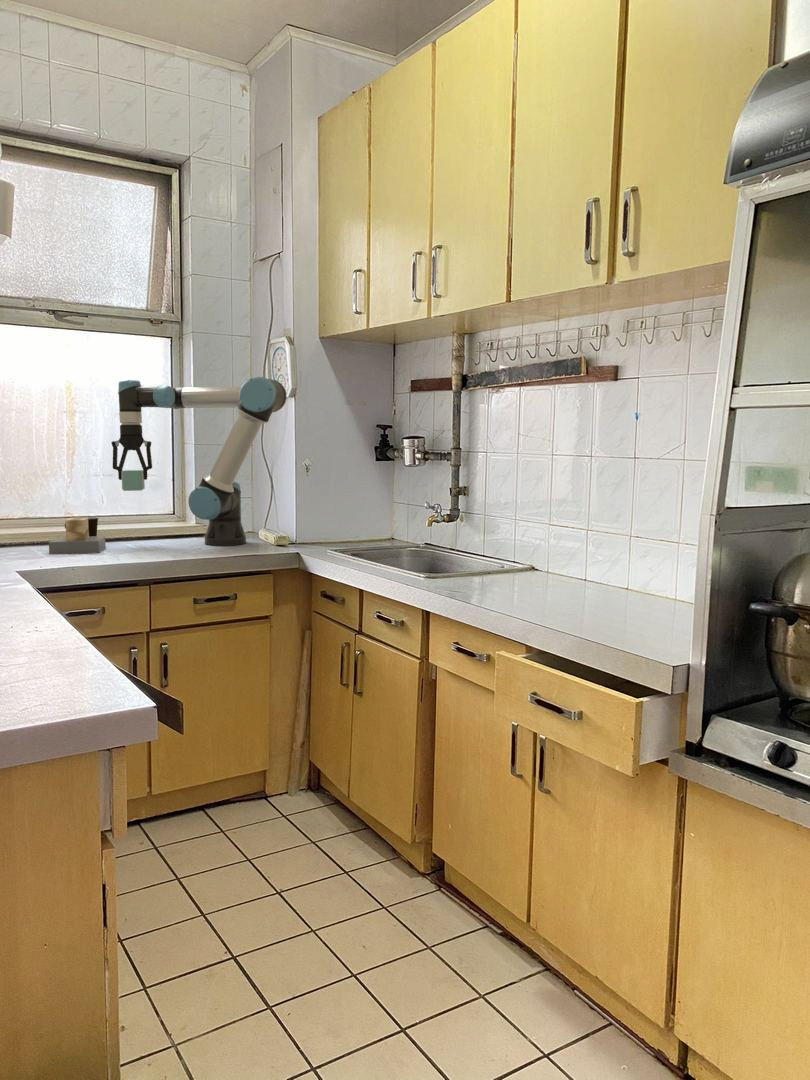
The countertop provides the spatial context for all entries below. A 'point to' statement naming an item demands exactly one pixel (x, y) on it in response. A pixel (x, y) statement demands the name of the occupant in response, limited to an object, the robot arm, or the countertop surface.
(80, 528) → the oak brick
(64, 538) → the slate plinth
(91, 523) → the coffee mug
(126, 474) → the teal brick
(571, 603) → the countertop surface
